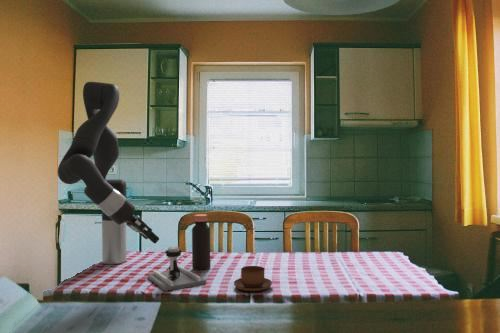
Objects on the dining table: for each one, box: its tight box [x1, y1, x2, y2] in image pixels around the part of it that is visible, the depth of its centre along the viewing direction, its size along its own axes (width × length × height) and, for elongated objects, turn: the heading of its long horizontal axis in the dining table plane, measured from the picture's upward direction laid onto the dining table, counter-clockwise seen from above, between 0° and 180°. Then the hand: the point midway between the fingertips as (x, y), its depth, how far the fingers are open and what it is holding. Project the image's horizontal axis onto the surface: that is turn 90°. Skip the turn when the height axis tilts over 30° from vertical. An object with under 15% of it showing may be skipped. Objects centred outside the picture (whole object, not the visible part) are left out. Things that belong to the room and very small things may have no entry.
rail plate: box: [147, 265, 207, 292], centre depth 132 cm, size 17×14×2 cm
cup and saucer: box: [233, 265, 273, 292], centre depth 124 cm, size 12×12×6 cm
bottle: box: [191, 213, 211, 271], centre depth 148 cm, size 7×7×20 cm
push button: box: [164, 246, 182, 280], centre depth 131 cm, size 7×5×10 cm
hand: (152, 239), depth 128 cm, fingers open, 8 cm apart
